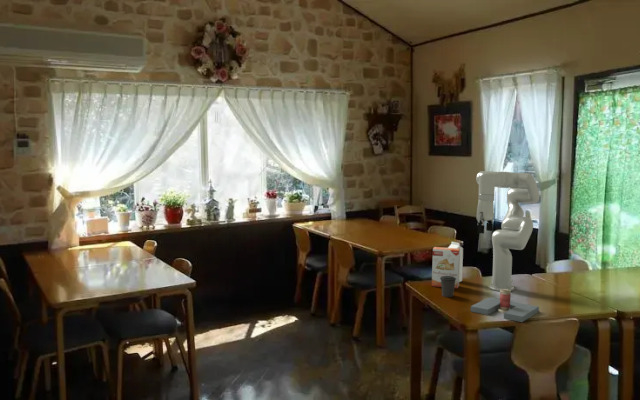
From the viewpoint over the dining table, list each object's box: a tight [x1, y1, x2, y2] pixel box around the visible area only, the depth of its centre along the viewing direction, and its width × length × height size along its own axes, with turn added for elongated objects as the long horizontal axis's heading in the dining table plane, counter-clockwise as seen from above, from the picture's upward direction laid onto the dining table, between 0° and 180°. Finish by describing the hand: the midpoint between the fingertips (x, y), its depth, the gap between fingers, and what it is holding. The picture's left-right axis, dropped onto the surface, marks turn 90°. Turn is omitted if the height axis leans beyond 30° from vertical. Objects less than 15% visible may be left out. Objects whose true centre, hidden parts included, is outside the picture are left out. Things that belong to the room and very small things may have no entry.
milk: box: [447, 241, 464, 283], centre depth 318 cm, size 6×6×22 cm
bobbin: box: [497, 289, 512, 314], centre depth 262 cm, size 6×6×10 cm
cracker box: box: [431, 246, 460, 289], centre depth 306 cm, size 14×6×21 cm, turn 70°
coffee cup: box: [440, 276, 456, 298], centre depth 288 cm, size 8×8×10 cm
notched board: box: [470, 297, 540, 323], centre depth 262 cm, size 20×24×2 cm
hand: (485, 231), depth 282 cm, fingers open, 9 cm apart
